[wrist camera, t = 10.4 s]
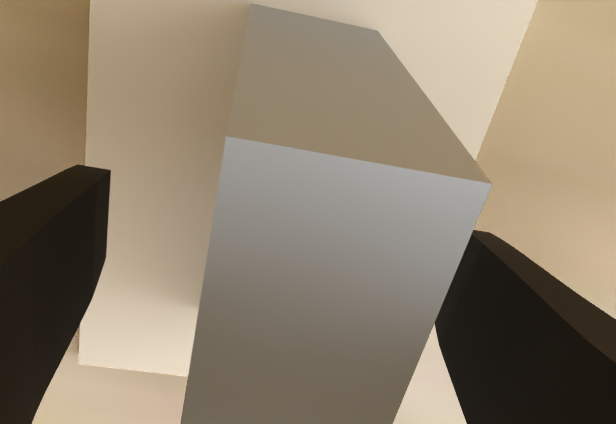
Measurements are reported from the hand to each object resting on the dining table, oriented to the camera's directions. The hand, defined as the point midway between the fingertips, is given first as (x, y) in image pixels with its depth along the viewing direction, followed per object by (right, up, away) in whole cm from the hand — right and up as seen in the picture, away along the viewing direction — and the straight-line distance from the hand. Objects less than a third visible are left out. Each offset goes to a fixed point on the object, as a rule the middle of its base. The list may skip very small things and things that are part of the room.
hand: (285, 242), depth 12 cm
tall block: (0, +1, +4) cm, 4 cm away
